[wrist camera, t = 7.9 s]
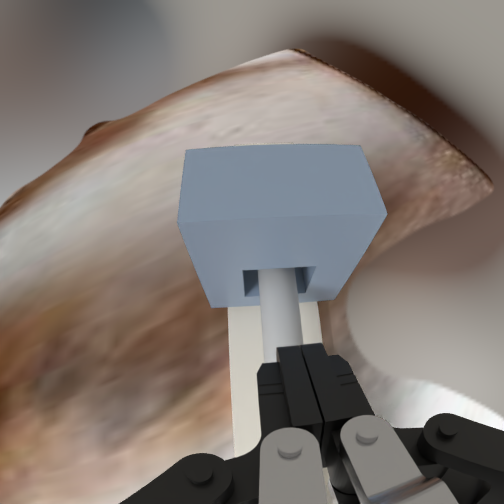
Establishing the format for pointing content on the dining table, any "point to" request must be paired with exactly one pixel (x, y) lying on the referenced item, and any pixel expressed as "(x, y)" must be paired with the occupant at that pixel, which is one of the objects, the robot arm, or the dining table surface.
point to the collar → (277, 217)
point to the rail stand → (265, 346)
